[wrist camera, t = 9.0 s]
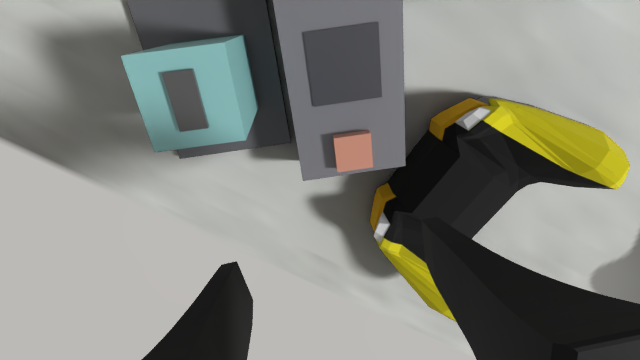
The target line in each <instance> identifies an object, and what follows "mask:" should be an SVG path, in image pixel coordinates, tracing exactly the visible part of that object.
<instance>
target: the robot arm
mask: <svg viewBox="0 0 640 360" xmlns="http://www.w3.org/2000/svg"><path fill="white" fill-rule="evenodd" d="M421 225H422V234H423V244H424V253H425V262H426V265H427V267H428V269H429V272H430V274H431V276H432V279H433V281H434V283H435V286H436V287H437V289H438V291H439V293H440V294H441V296H442V298H443V299H444V301H445V303H446V305H447V306H448V308H449V310H450V311H451V313H452V315H453V317H454V318H455V320H456V322H457V323H458V325H459V327H460V328H461V330H462V332H463V334H464V335H465V337H466V339H467V341H468V343H469V345H470V346H471V348H472V350H473V353H474V355H475V357H476V359H477V360H640V304H637V303H633V302H629V301H625V300H620V299H616V298H612V297H608V296H604V295H601V294H598V293H594V292H591V291H587V290H584V289H581V288H578V287H575V286H572V285H568V284H565V283H563V282H560V281H557V280H555V279H552V278H549V277H546V276H544V275H541V274H539V273H536V272H534V271H532V270H529V269H527V268H525V267H523V266H520V265H518V264H516V263H514V262H512V261H510V260H508V259H506V258H504V257H502V256H500V255H498V254H496V253H494V252H492V251H491V250H489V249H487V248H485V247H483V246H482V245H480V244H478V243H477V242H475V241H473V240H472V239H470V238H469V237H467V236H466V235H464V234H462V233H461V232H459V231H458V230H456V229H455V228H453V227H452V226H450V225H449V224H447V223H446V222H444V221H443V220H441V219H440V218H438V217H433V218H429V219H424V220H421ZM252 319H253V299H252V296H251V294H250V292H249V289H248V287H247V285H246V283H245V280H244V277H243V275H242V273H241V270H240V268H239V266H238V263H237V262H232V263H227V264H224V265H221V266H220V267H219V269H218V270H217V271H216V273H215V274H214V275H213V277H212V278H211V279H210V281H209V282H208V284H207V285H206V286H205V288H204V289H203V290H202V292H201V293H200V294H199V296H198V297H197V298H196V300H195V301H194V302H193V303H192V305H191V306H190V307H189V309H188V310H187V311H186V312H185V313H184V315H183V316H182V317H181V318H180V319H179V321H178V322H177V323H176V324H175V325H174V327H173V328H172V329H171V330H170V331H169V332H168V333H167V335H166V336H165V337H164V338H163V339H162V340H161V341H160V342H159V343H158V344H157V345H156V346H155V347H154V348H153V349H152V350H151V351H150V352H149V353H148V354H147V355H146V356H145V357H144V358H143V359H142V360H247V356H248V349H249V343H250V337H251V330H252Z"/></svg>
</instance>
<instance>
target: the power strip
mask: <svg viewBox="0 0 640 360" xmlns="http://www.w3.org/2000/svg"><path fill="white" fill-rule="evenodd" d="M273 5H274V11H275V17H276V23H277V29H278V34H279V40H280V46H281V52H282V58H283V64H284V70H285V76H286V82H287V88H288V94H289V100H290V106H291V112H292V118H293V124H294V130H295V136H296V142H297V148H298V154H299V160H300V166H301V172H302V178H303V181H306V180H313V179H320V178H326V177H333V176H340V175H347V174H354V173H361V172H368V171H374V170H381V169H388V168H395V167H402V166H406V161H405V106H404V51H403V0H273Z"/></svg>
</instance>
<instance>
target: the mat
mask: <svg viewBox="0 0 640 360" xmlns="http://www.w3.org/2000/svg"><path fill="white" fill-rule="evenodd" d="M127 3H128V6H129V9H130V12H131V15H132V18H133V21H134V24H135V27H136V30H137V33H138V36H139V38H140V41H141V44H142V47H143V50H147V49H151V48H156V47H160V46H164V45H168V44H174V43H181V42H189V41H197V40H204V39H212V38H220V37H228V36H235V35H243V34H244V35H245V40H246V45H247V51H248V56H249V61H250V66H251V71H252V76H253V81H254V86H255V91H256V96H257V101H258V106H259V107H258V110H257V112H256V115H255V118H254V120H253V123H252V125H251V128H250V131H249V133H248V136H247V139H246V140H244V141H236V142H229V143H221V144H214V145H206V146H199V147H191V148H184V149H177V152H178V155H179V158H180V159H181V158H188V157H195V156H202V155H209V154H216V153H223V152H230V151H237V150H243V149H250V148H257V147H264V146H271V145H278V144H285V143H291V140H290V134H289V128H288V123H287V117H286V111H285V106H284V100H283V94H282V88H281V83H280V77H279V71H278V66H277V60H276V54H275V48H274V43H273V37H272V31H271V26H270V20H269V14H268V9H267V3H266V0H127Z"/></svg>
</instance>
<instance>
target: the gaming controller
mask: <svg viewBox="0 0 640 360" xmlns="http://www.w3.org/2000/svg"><path fill="white" fill-rule="evenodd" d="M405 161H406V166H402V167H399V168H398V169H397V171H396V172H395V173H394V175H393V176H392V177H391V178H390V180H389V181H388V183H386V184H384V185H382V186H380V187H378V188H377V190H376V193H375V196H374V201H373V207H372V212H371V218H370V223H371V226H372V228H373V231H374V237H375V238H376V242H377V244H378V246H379V248H380V249H381V251H382V252H383V253H384V254H385V256H386V257H387V258H388V259H389V260H390V262H391V263H392V264H393V265H394V266H395V268H396V269H397V270H398V271H399V272H400V274H401V275H402V276H403V277H404V278H405V279H406V281H407V282H408V283H409V284H410V285H411V286H412V288H413V289H414V290H415V291H416V292H417V293H418V295H419V296H420V297H421V298H422V299H423V301H424V302H425V303H426V304H427V305H428V306H429V307H430V308H432V309H434V310H436V311H437V312H439V313H441V314H443V315H445V316H446V317H448V318H450V319H452V320H454V321H456V320H455V318H454V317H453V315H452V313H451V311H450V310H449V308H448V306H447V305H446V303H445V301H444V299H443V298H442V296H441V294H440V293H439V291H438V289H437V287H436V286H435V283H434V281H433V279H432V276H431V274H430V272H429V269H428V267H427V265H426V262H425V253H424V244H423V234H422V225H421V220H424V219H429V218H433V217H438V218H440V219H441V220H443V221H444V222H446V223H447V224H449V225H450V226H452V227H453V228H455V229H456V230H458V231H459V232H461V233H462V234H464V235H466V236H467V237H469V238H470V239H472V238H473V237H474V236H475V235H476V233H477V232H478V231H479V230H480V229H481V228H482V227H483V226H484V225H485V224H486V223H487V222H488V221H489V220H490V219H491V218H492V217H493V216H494V215H495V214H496V213H497V212H498V211H499V210H500V209H501V207H502V206H503V205H504V204H505V203H506V202H507V201H508V200H509V199H510V198H511V197H512V196H513V195H514V194H515V193H516V192H517V191H519V190H520V189H522V188H523V187H525V186H527V185H529V184H533V183H538V182H545V183H552V184H559V185H566V186H573V187H585V188H602V189H618V188H619V187H620V186H621V185H622V183H623V182H624V180H625V178H626V176H627V173H628V170H629V167H630V164H629V161H628V159H627V157H626V155H625V152H624V151H623V150H622V149H621V148H620V147H619V146H618V145H617V144H616V143H615V142H614V141H613V140H611V139H610V138H609V137H608V136H607V135H606V134H605V133H604V132H602V131H600V130H598V129H595V128H593V127H591V126H588V125H586V124H584V123H581V122H578V121H575V120H572V119H569V118H566V117H563V116H561V115H558V114H555V113H552V112H549V111H546V110H543V109H540V108H538V107H535V106H532V105H529V104H524V103H520V102H515V101H511V100H507V99H502V98H498V97H481V98H479V99H478V100H475V99H471V98H468V99H466V100H464V101H462V102H460V103H458V104H456V105H454V106H452V107H450V108H448V109H446V110H444V111H442V112H440V113H439V114H437V115H436V116H435V117H433V118H432V119H431V121H430V127H429V130H428V131H427V133H426V134H425V135H424V136H423V138H422V139H421V140H420V141H419V143H418V144H417V145H416V147H415V148H414V149H413V150H412V152H411V153H410V154H409V155H408V157H407V158H406V159H405Z"/></svg>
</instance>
